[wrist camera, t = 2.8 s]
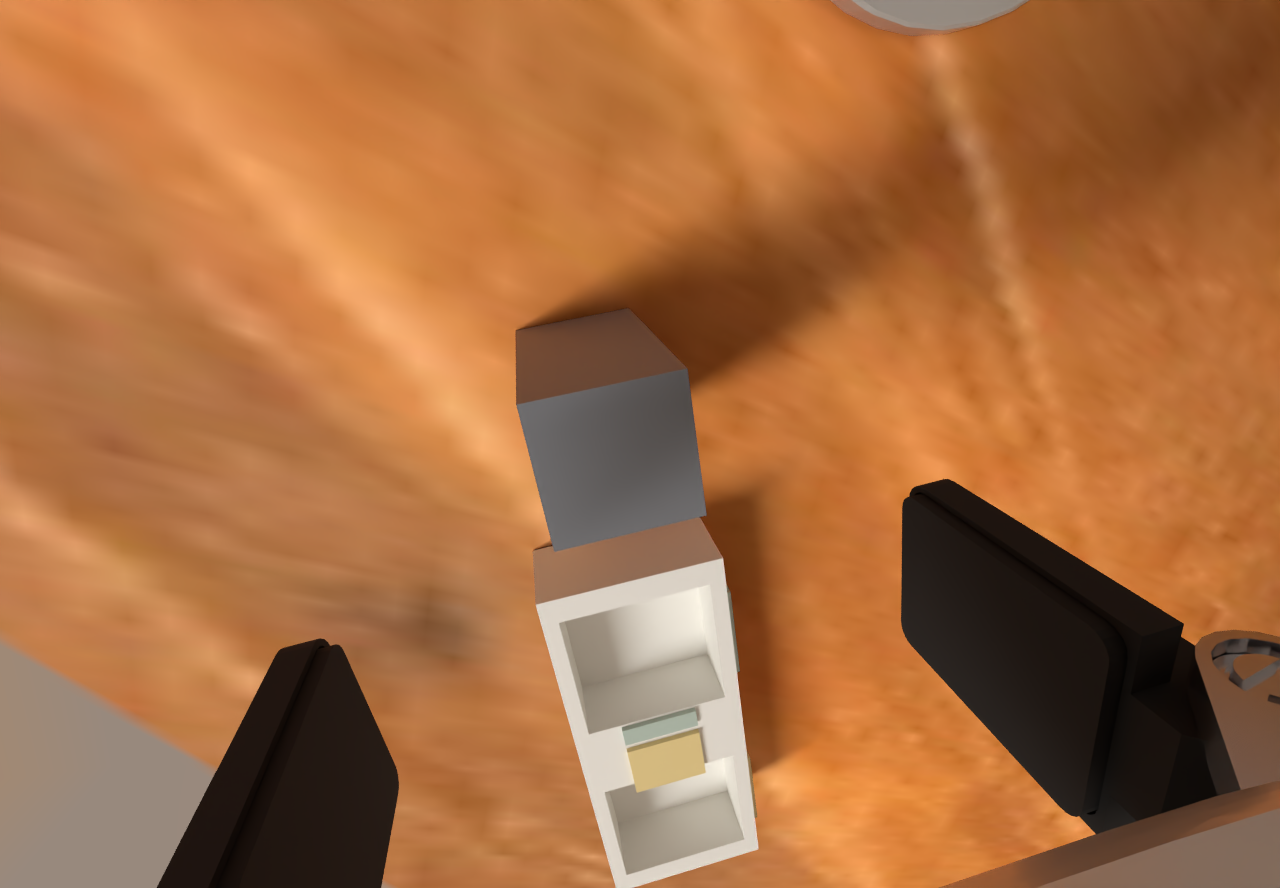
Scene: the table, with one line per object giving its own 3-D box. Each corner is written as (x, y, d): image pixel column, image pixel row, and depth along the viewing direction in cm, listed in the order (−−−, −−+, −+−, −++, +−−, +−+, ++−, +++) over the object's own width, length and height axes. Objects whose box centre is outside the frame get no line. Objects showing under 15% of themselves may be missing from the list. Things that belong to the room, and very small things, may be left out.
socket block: (701, 510, 25) (730, 559, 22) (737, 782, 32) (764, 852, 29) (532, 550, 24) (535, 608, 21) (606, 820, 31) (617, 896, 28)
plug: (628, 307, 21) (687, 368, 14) (645, 412, 23) (706, 515, 16) (515, 330, 21) (516, 404, 14) (541, 435, 23) (554, 552, 15)
